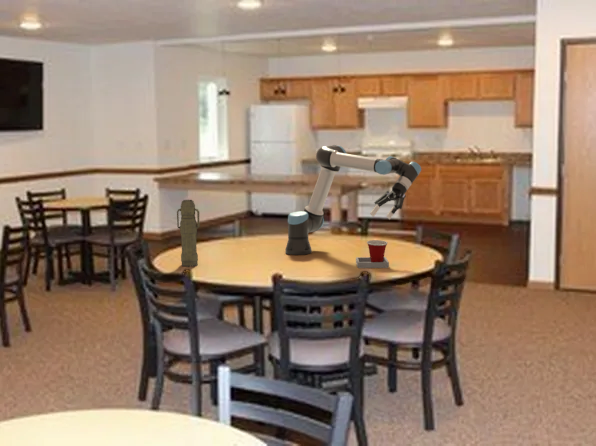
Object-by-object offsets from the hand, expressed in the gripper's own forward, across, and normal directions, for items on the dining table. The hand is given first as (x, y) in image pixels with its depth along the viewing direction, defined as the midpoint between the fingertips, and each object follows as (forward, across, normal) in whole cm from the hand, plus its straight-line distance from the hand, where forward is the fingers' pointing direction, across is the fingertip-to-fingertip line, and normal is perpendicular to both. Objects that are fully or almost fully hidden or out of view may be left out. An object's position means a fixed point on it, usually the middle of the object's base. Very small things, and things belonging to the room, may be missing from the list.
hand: (379, 216), depth 426 cm
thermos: (+78, +56, +42) cm, 105 cm away
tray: (+23, -3, -12) cm, 26 cm away
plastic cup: (+22, -6, -12) cm, 26 cm away
